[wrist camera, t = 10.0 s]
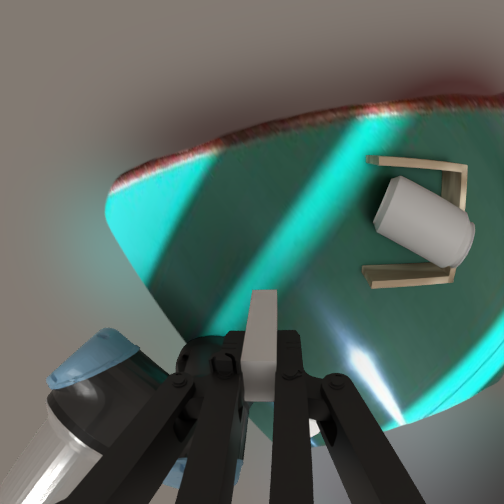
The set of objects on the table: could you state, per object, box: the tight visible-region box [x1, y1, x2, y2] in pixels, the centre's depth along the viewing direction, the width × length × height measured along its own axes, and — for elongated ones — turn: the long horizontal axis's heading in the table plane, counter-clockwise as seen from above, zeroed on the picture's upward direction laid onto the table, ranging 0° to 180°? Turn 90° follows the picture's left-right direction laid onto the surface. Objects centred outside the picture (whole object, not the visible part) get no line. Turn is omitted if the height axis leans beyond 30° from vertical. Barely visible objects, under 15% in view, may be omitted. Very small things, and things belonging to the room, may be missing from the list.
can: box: [373, 176, 475, 268], centre depth 29 cm, size 8×8×12 cm
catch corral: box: [362, 155, 467, 289], centre depth 32 cm, size 16×13×5 cm
